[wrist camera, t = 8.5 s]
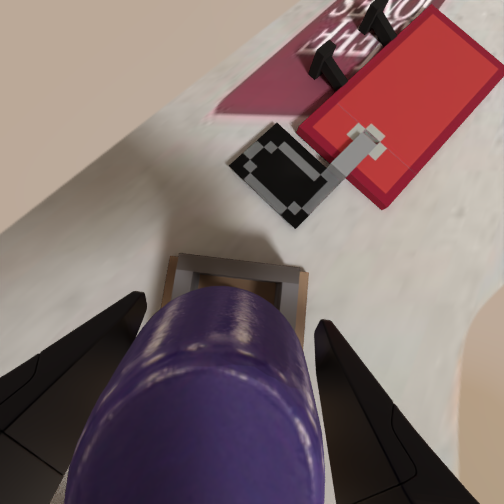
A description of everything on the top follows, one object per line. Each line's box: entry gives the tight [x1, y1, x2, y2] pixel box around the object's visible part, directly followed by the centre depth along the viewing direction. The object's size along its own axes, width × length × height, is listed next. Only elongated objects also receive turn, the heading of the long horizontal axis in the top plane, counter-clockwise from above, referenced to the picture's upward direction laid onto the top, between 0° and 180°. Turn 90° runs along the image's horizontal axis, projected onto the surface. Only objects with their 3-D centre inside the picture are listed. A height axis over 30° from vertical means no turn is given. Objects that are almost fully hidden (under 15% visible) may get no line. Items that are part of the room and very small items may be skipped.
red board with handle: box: [229, 0, 504, 229], centre depth 23 cm, size 30×3×15 cm
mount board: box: [161, 253, 309, 349], centre depth 17 cm, size 19×12×4 cm, turn 173°
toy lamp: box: [64, 286, 325, 504], centre depth 11 cm, size 5×5×17 cm
